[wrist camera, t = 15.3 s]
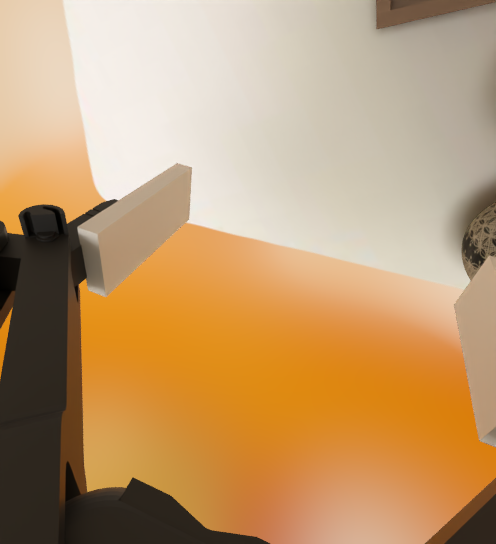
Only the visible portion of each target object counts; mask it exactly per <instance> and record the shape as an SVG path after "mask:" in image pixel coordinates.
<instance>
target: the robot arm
mask: <svg viewBox="0 0 496 544" xmlns="http://www.w3.org/2000/svg"><path fill="white" fill-rule="evenodd" d="M191 174H192V168H191V167H188V166H184V165H181V164H178V163H177V164H175V165H174V166H172V167H170V168H169V169H167V170H166V171H164V172H163V173H161V174H160V175H158V176H156V177H155V178H153V179H152V180H150V181H149V182H147V183H145V184H144V185H142V186H141V187H139V188H138V189H136V190H134V191H133V192H131V193H130V194H128V195H127V196H125V197H124V198H122V199H120V200H119V201H118V200H115V199H113V200H110V201H106V202H103V203H101V204H99V205H98V206H96V207H94V208H93V210H89V211H88V212H86V213H85V214H83V215H81V216H79V217H78V218H76V219H75V220H73V221H71V222H70V223H68V224H67V223H66V218H65V213H64V211H63V209H61V208H60V207H57V206H53V205H36V206H32V207H29V208H26V209H24V210H23V211H21V212H20V214H19V219H20V223H21V226H22V230H23V233H24V235H19V234H11V233H7V231H6V227H5V225H4V223H3V222H1V221H0V328H1V327H2V325H3V323H4V321H5V319H6V318H7V316H8V314H9V312H10V310H11V309H12V307H13V309H12V315H11V320H10V326H9V332H8V338H7V344H6V350H5V355H4V361H3V367H2V374H1V379H0V544H270V543H268V542H266V541H264V540H262V539H259V538H257V537H253V536H246V535H238V534H232V533H226V532H219V531H212V530H209V529H207V528H205V527H204V526H203V525H202V524H201V523H200V522H198V521H197V520H196V519H195V518H194V517H193V516H192V515H191V514H190V513H189V512H188V511H187V510H186V509H185V508H183V507H182V506H181V505H180V504H179V503H178V502H177V501H176V500H175V499H174V498H173V497H172V496H170V495H168V494H166V493H164V492H162V491H160V490H158V489H156V488H154V487H152V486H150V485H147V484H145V483H143V482H141V481H139V480H137V479H135V478H132V480H131V481H130V483H129V485H128V486H127V488H122V487H118V488H117V487H115V488H103V489H97V490H94V491H90V492H87V486H86V478H85V470H84V454H83V408H82V369H81V368H82V366H81V365H82V364H81V319H80V290H79V284H80V283H81V282H82V281H83V280H84V279H86V280H87V286H88V290H89V291H91V292H94V293H97V294H99V295H102V296H105V297H107V296H108V295H109V294H110V293H111V292H112V291H113V290H114V289H115V288H116V287H117V286H118V285H119V284H120V283H121V282H123V281H124V280H125V279H126V278H127V277H128V276H129V275H130V274H131V273H132V272H133V271H134V270H135V269H136V268H137V267H139V266H140V265H141V264H142V263H143V262H144V261H145V260H146V259H147V258H148V257H149V256H150V255H151V254H152V253H153V252H155V250H157V249H158V248H159V247H160V246H161V245H162V244H163V243H164V242H165V241H166V240H167V239H168V238H170V236H172V234H174V233H175V232H176V231H177V230H178V229H179V228H180V227H181V226H182V225H183V224H184V223H185V222H187V221H188V220H189V211H190V193H191ZM454 308H455V313H456V319H457V323H458V329H459V335H460V340H461V345H462V351H463V356H464V361H465V367H466V372H467V377H468V383H469V388H470V394H471V399H472V404H473V410H474V415H475V420H476V426H477V431H478V436H479V441H481V442H484V443H486V444H489V445H491V446H494V447H496V257H492V256H488V258H487V259H486V261H485V262H484V263H483V265H482V266H481V268H480V269H479V270H478V272H477V273H476V275H475V276H474V277H473V279H472V280H471V282H470V283H469V284H468V286H467V287H466V289H465V290H464V292H463V293H462V294H461V296H460V297H459V299H458V300H457V301H456V303H455V304H454ZM425 544H496V478H495V479H494V480H493V481H492V482H491V483H490V484H489V485H488V486H487V487H486V488H484V490H482V491H481V492H480V493H479V494H478V495H477V496H476V497H475V498H474V499H473V500H472V501H470V502H469V503H468V504H467V505H466V506H465V507H464V508H463V509H462V510H461V511H460V512H459V513H457V514H456V515H455V516H454V517H453V518H452V519H451V520H450V521H449V522H448V523H447V524H446V525H445V526H443V527H442V528H441V529H440V530H439V531H438V532H437V533H436V534H435V535H434V536H433V537H432V538H431V539H430V540H429V541H427V542H426V543H425Z"/></svg>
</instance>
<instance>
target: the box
mask: <svg viewBox="0 0 496 544" xmlns="http://www.w3.org/2000/svg"><path fill="white" fill-rule="evenodd" d="M494 2H496V0H376V6H377V29H380V28H384V27H389V26H393V25H397V24H402V23H406V22H410V21H415V20H419V19H424V18H428V17H432V16H437V15H441V14H445V13H450V12H454V11H459V10H463V9H467V8H472V7H476V6H480V5H485V4H489V3H494Z"/></svg>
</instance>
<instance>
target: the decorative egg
mask: <svg viewBox="0 0 496 544" xmlns="http://www.w3.org/2000/svg"><path fill="white" fill-rule="evenodd" d="M488 256H492V257H496V203H494V204H492V205H491V206H489V207H487V208H486V209H485V210H483V211H482V212H481V213H480V214H479V215H477V217H476V218H475V219H474V220H473V221H472V223H471V224H470V225H469V227H468V229H467V231H466V233H465V236H464V239H463V243H462V260H463V264H464V267H465V270H466V272H467V275H468V276H469V278H470V280H472V279H473V277H474V276H475V275H476V273H477V272H478V270H479V269H480V268H481V266H482V265H483V263H484V262H485V261H486V259H487V258H488Z"/></svg>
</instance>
